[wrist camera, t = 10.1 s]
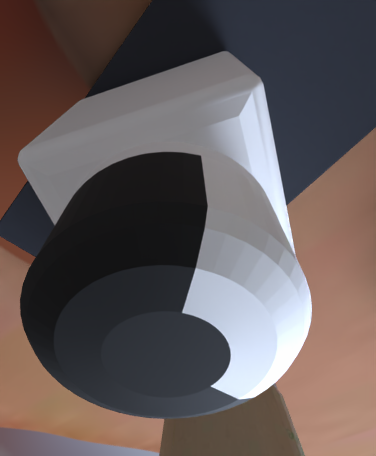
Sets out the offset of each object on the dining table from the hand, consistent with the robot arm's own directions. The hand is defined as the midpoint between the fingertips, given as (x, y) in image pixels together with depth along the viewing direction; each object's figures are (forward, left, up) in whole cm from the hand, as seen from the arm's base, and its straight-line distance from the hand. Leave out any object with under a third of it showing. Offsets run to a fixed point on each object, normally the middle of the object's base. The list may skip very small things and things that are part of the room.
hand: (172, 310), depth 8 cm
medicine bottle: (0, 0, -11) cm, 11 cm away
